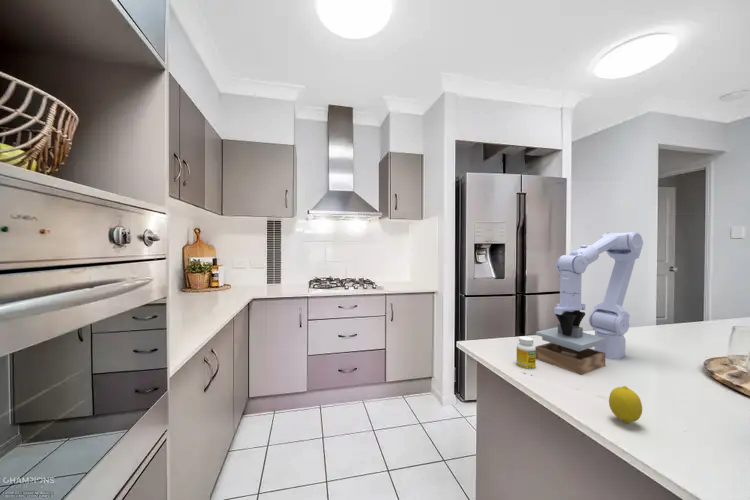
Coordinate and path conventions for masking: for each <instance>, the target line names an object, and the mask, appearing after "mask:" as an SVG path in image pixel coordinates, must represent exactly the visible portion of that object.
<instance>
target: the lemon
mask: <svg viewBox="0 0 750 500" xmlns="http://www.w3.org/2000/svg"><path fill="white" fill-rule="evenodd" d="M608 404H609V405H608V406H609V408H610V411H611V412H612V414H613V415H614V416H615V417H616V418H618V420H621V422H622V423H624V424H628V423H632V422H637V421H638V420H639V419H640V418H641V417H642V414H643V405H642V401H641V398H640V397H639V395H638V393H636V392H635V391H634V390H633V389H631V388H629V387H628V386H626V385H623V386H618V387H615V388H613V389H612V390H611V392H610V393H609V397H608Z"/></svg>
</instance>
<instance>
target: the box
mask: <svg viewBox="0 0 750 500" xmlns="http://www.w3.org/2000/svg"><path fill="white" fill-rule="evenodd" d="M535 348H536V360H539V361H540V362H543V363H547V364H549V365H552V366H555V367H558V368H561V369H563V370H567V371H569V372H571V373H575V374H577V375H580V376H583V375H585V374H587V373H590V372H594V371H596V370H598V369H601V368H603V367H606V358H605V353H604V352H600V351H596V350H595V349H592V348H588V349H585V350H582V351H576V350H573V349H570V348H566V347H563V346H560V345H557V344H554V343H550V342H547V343H543V344H540V345H536V346H535ZM562 351H564V352H568V353H573V354H577V356H576V358H573V357H570V356H567V355H564V354H561V352H562Z"/></svg>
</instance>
